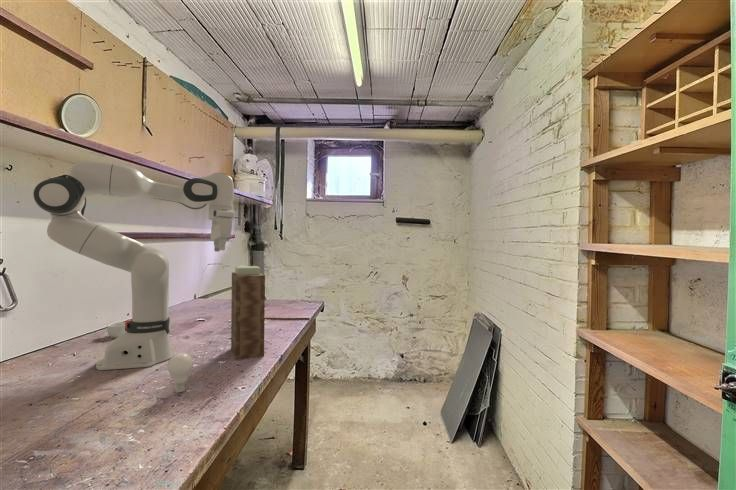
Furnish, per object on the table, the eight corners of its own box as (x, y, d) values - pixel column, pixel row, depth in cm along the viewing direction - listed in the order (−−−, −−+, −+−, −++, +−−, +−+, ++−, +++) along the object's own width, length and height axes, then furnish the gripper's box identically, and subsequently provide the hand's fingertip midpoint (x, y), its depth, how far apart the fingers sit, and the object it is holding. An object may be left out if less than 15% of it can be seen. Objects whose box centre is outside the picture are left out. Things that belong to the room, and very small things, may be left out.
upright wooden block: (235, 360, 125) (236, 276, 125) (231, 348, 138) (231, 272, 137) (264, 356, 130) (264, 275, 129) (257, 345, 142) (258, 271, 142)
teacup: (128, 337, 151) (128, 325, 150) (106, 340, 146) (106, 327, 146) (129, 332, 159) (129, 320, 159) (108, 334, 155) (108, 322, 154)
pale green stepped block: (237, 275, 129) (237, 268, 129) (231, 270, 146) (232, 264, 146) (260, 274, 132) (260, 267, 132) (252, 269, 149) (252, 263, 149)
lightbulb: (185, 397, 96) (185, 357, 96) (162, 397, 96) (162, 357, 96) (197, 387, 102) (197, 350, 102) (175, 387, 102) (175, 349, 102)
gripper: (207, 218, 143) (205, 251, 142) (217, 210, 126) (215, 249, 125) (224, 219, 146) (222, 252, 145) (235, 212, 129) (234, 249, 128)
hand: (219, 250), depth 135 cm, fingers open, 8 cm apart
